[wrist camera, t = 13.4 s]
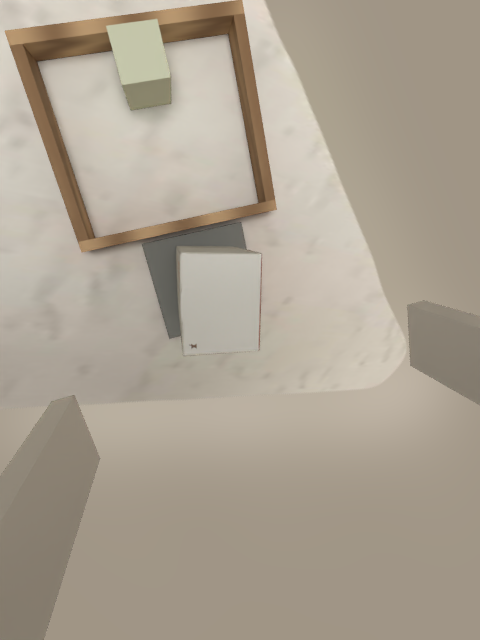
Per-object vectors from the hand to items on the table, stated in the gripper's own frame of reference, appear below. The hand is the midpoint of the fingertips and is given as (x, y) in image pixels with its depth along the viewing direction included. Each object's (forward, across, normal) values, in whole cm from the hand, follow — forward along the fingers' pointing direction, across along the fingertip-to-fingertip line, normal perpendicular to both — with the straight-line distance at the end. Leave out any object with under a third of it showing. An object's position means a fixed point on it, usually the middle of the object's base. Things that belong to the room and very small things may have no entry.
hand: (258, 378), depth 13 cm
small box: (+26, 0, 0) cm, 26 cm away
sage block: (+27, -1, +20) cm, 33 cm away
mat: (+27, 0, 0) cm, 27 cm away
